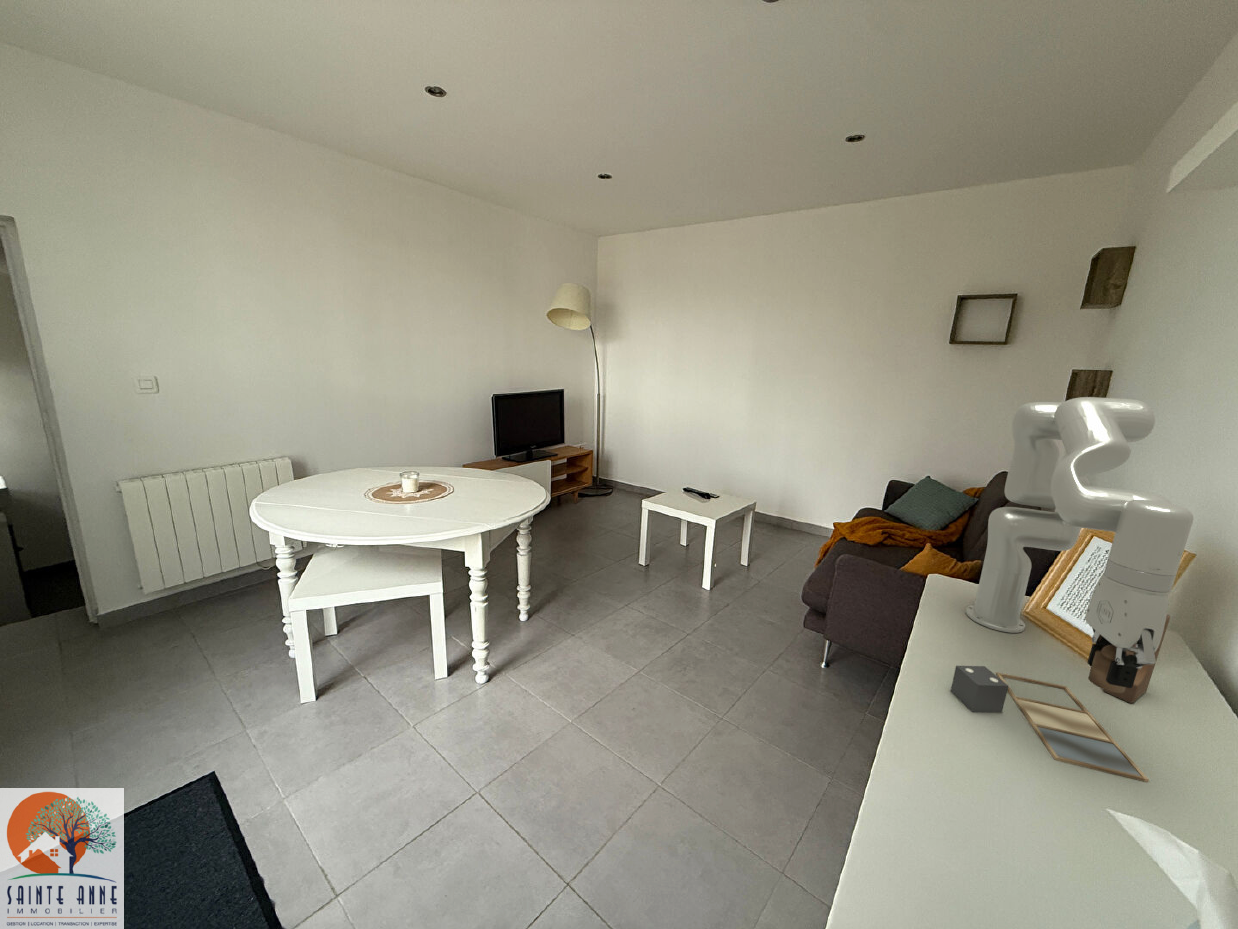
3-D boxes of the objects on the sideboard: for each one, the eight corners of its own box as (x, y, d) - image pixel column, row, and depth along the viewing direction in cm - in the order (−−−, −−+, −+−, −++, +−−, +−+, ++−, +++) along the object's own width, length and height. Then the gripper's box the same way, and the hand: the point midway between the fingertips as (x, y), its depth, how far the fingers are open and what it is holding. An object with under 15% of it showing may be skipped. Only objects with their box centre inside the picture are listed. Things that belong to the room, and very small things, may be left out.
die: (950, 691, 98) (956, 665, 97) (978, 691, 98) (984, 665, 97) (972, 712, 92) (978, 684, 91) (1001, 712, 92) (1008, 685, 91)
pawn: (1082, 673, 83) (1092, 636, 82) (1114, 679, 82) (1125, 642, 80) (1097, 689, 79) (1109, 650, 78) (1131, 695, 78) (1143, 657, 76)
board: (995, 674, 104) (996, 672, 104) (1065, 688, 100) (1066, 686, 100) (1054, 759, 82) (1055, 757, 81) (1147, 782, 78) (1148, 780, 78)
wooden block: (1131, 705, 96) (1156, 625, 92) (1102, 691, 100) (1124, 614, 96) (1146, 691, 100) (1171, 615, 97) (1117, 679, 104) (1140, 605, 100)
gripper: (1078, 553, 85) (1055, 644, 89) (1144, 595, 70) (1112, 702, 74) (1132, 560, 83) (1105, 653, 87) (1212, 605, 67) (1175, 715, 71)
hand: (1108, 674), depth 80 cm, fingers closed on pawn, 4 cm apart
